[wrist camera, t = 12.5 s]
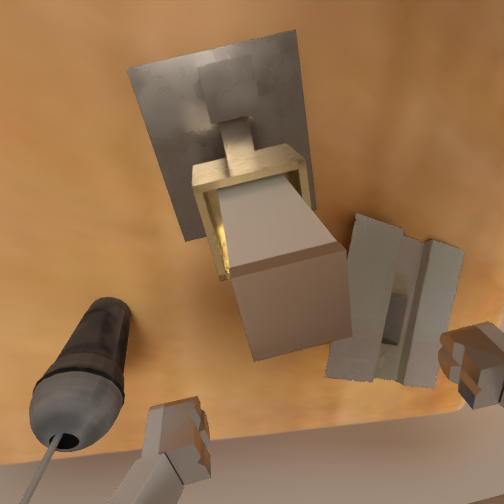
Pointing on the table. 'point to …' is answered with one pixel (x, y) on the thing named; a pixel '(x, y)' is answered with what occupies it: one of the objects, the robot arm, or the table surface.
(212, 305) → the table surface
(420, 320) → the grey grooved block
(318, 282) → the rail end
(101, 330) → the dark travel mug
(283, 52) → the bracket
